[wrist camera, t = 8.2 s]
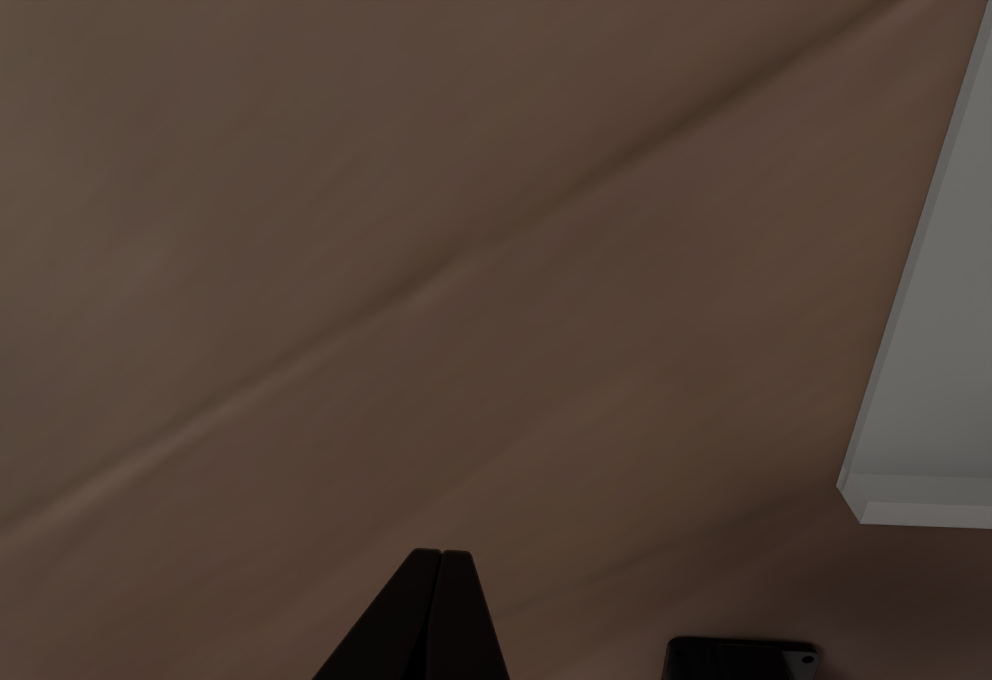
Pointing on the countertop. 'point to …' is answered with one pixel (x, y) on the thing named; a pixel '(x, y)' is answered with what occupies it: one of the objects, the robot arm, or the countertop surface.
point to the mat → (937, 344)
